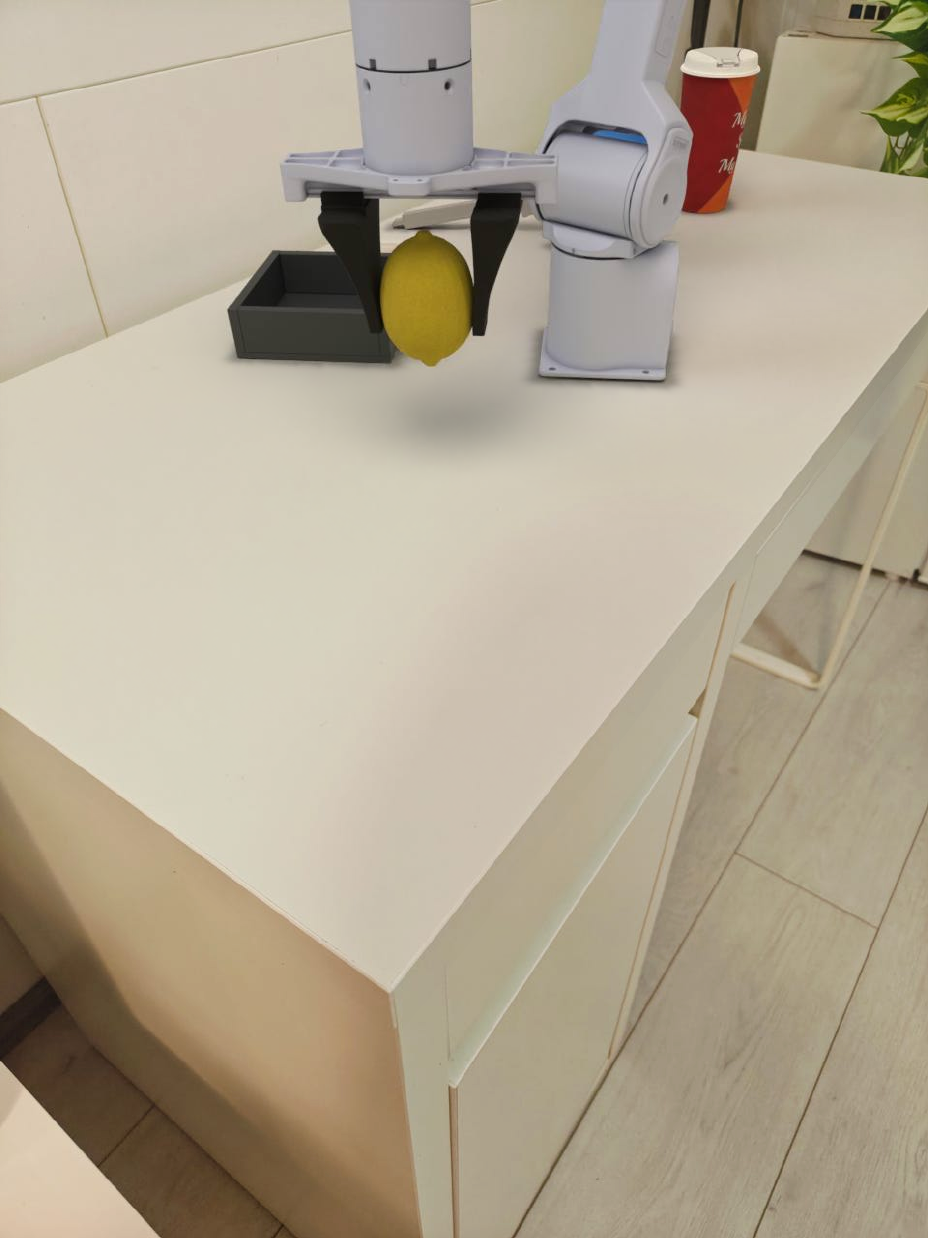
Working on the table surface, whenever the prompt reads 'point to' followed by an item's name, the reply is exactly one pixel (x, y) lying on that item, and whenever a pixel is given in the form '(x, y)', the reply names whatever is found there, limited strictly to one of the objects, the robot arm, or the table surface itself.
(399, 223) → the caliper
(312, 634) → the table surface
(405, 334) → the lemon
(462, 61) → the robot arm
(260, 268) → the dark gray open box
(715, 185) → the paper cup
